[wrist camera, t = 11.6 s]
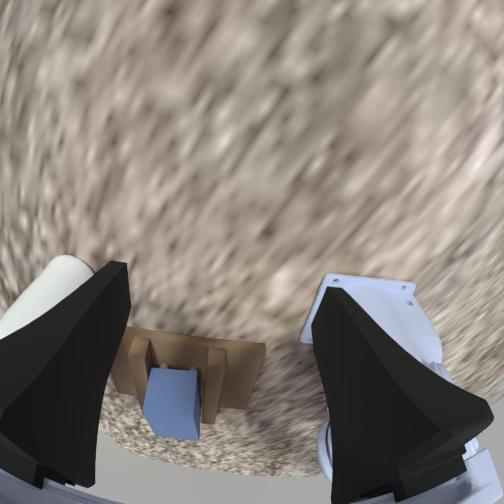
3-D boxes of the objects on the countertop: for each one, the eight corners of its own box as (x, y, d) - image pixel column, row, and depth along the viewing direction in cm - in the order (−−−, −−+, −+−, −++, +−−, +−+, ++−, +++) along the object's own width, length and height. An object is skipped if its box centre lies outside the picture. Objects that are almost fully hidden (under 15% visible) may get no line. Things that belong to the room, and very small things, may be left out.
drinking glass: (51, 297, 23) (-14, 424, 10) (40, 237, 20) (-60, 371, 7) (110, 313, 24) (60, 461, 12) (106, 252, 21) (20, 422, 8)
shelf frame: (264, 343, 27) (267, 372, 24) (245, 402, 33) (246, 426, 30) (101, 321, 25) (89, 348, 22) (119, 385, 31) (113, 408, 28)
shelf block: (201, 400, 29) (199, 440, 24) (161, 397, 28) (155, 436, 24) (197, 371, 26) (193, 416, 21) (151, 367, 25) (142, 411, 21)
